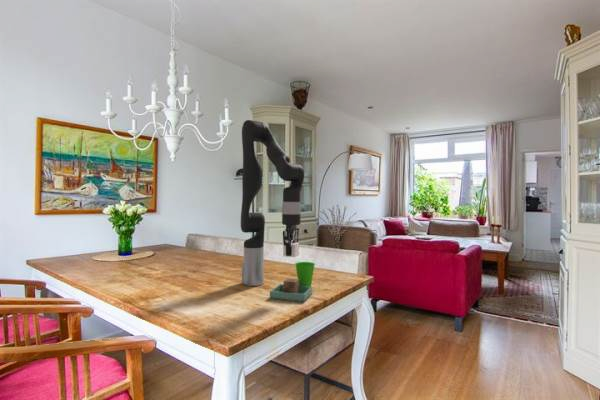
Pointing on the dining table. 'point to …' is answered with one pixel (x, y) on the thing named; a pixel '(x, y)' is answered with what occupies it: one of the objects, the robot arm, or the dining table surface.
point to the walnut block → (291, 285)
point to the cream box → (294, 250)
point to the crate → (291, 294)
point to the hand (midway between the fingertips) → (291, 254)
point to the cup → (305, 273)
